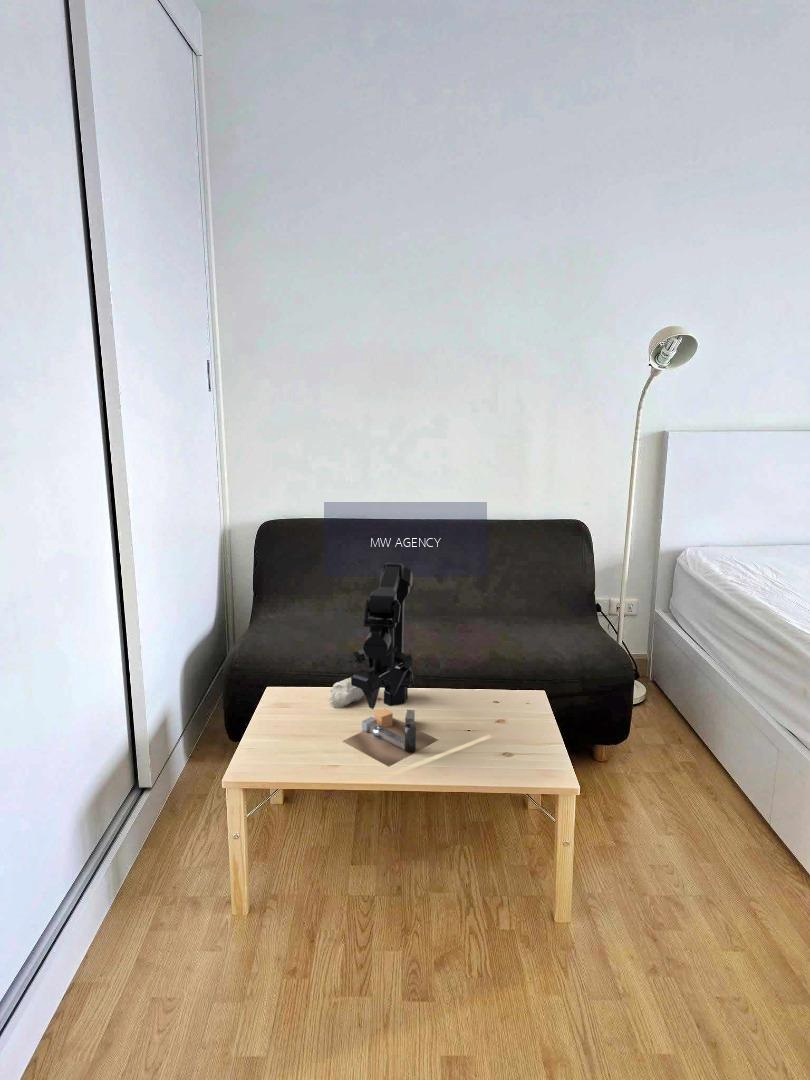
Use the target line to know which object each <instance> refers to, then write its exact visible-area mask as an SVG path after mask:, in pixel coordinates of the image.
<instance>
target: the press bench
mask: <svg viewBox="0 0 810 1080" xmlns="http://www.w3.org/2000/svg"><path fill="white" fill-rule="evenodd" d="M415 715H416V714H415V709H407V710H406V713H405V718H404V720H405V721H404V722H403V721H401V720H399V719H397V718H394V717H393V725H392V726H389V727H386V728H387V730H389V731H391V732H393V733H395V734H397V735H399V736H401V737H403V738H405V725H407V724H413V725H415ZM437 741H439V739H438V738H436V737H434V736H433V735H430V734H428V733H426V732H424V731H422V730H419V729H418V728H416V750H415V751H414V752H406V751H405V750H404V749H402V748H400V747H398V746H396V745H395V744H393V743H391V742H389V741H387V740H385V739H383V738H381V737H375V736H374V735H373V733H371V732H369V731H368V732H365V731H364V730H362V731H361V732H359V733H357V734H354V735H351V736H350V737H348V738H345V739H344V740H342V743H345V744H346V745H348V746H350V747H352V748H353V749H355V750H357V751H359V752H361V753H363V754H365V755H367V756H368V757H370V758H372V759H374V760H376V761H378V762H379V763H381V764H383V765H385V766H387V768H388V767H390V766H392V765H395V764H396V763H399V762H400V761H402V760H403V759H407V757H409V756H412V755H413V754H415V753H416V752H418V751H420V750H422V749H425V748H426V747H429V746H431V745H432V744H434V743H436V742H437Z"/></svg>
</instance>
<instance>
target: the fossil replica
mask: <svg viewBox="0 0 810 1080" xmlns="http://www.w3.org/2000/svg"><path fill="white" fill-rule="evenodd" d="M329 691H330V696H329V697H328V701H329V704H330V705H331V706H332V707H333V708H336V709H339V708H340V709H341V708H344V707H346V706H348V705H350V704H352V703H355V702H359V701H361V700H362V698H363V696H365V695H364V693H363V691H362V690H361V689H360V688H357V687H355V686H352V685H351V677H348V678H345V679H343V680H340V681H337V682H335V683H334V684H333V686H332V687H330V689H329Z"/></svg>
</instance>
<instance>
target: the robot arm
mask: <svg viewBox="0 0 810 1080" xmlns="http://www.w3.org/2000/svg"><path fill="white" fill-rule="evenodd" d="M413 577H414V575H413V572H412V570H411V569H409V568H407V567H405V566H404V564H402V563H399V562H398V563H397V562H396V563H395V562H393V563H392V562H387V563H384V564H383V567H382V568H381V569H380V578H379V582H380V583H379V586H378V588H376V589H374V590H372V591H371V592H370V594H369V597H367V598H366V601H365V602H366V603H365V612H364V620H363V627H367V628H368V627H369V633H368V635H367V637H366V639H365V641H364V644H363V648H362V649H359V650H355V651H351V652H350V653H348V662H349V665H350V666H354V667H355V668H357V667H358V666H364V667H365V668H367V669H371V670H372V671H368V670H364V669H361V670H359V671H357V672H356V673H353V675H352V676H350V678H351V685H352V686H355V687H357V688H360V689H361V690H362V691H363V693H364V695H363V696H365V700H366V702H367V705H368V707H369V708H370V709H371V710H374V709H375V708H376V704H377V699H378V696H379V693H380V689H381V687H384V690H383V704H384V705H387V706H388V707H393V706H399V705H404V704H405V703H406V702H407V700H408V699H409V698H408V695H409V694H408V693H409V692H408V690H409V689H408V688H411V686H413V685H414V674H413V671H412V668H411V667H412V666H413V658H412V656H411V655H410V654H408V653H406V652H405V651H404V638H405V637H404V636H405V635H404V630H405V628H404V627H405V600H406V598H407V596H408V595H409V593H410V592H411V587H413V581H414V580H413Z"/></svg>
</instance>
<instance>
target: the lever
mask: <svg viewBox="0 0 810 1080" xmlns="http://www.w3.org/2000/svg"><path fill="white" fill-rule="evenodd" d="M416 729H417V726H416V725H415V724H414V725H413V724H407V725H405V738H403V737H401V736H399V735H397V734H395V733H393V732H391V731H389V730H387V728H386V727H385V726H379V725H377V719H375V718H374V716H370V717H368V718H366V719H363V720H361V731H365V732H368V731H369V732H371V733H373V735H374V736H375V737H381V738H383V739H385V740H387V741H389V742H391V743H393V744H395V745H396V746H398V747H400V748H402V749H404V750H405V751H406V752H414V751H415V750H416Z"/></svg>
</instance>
